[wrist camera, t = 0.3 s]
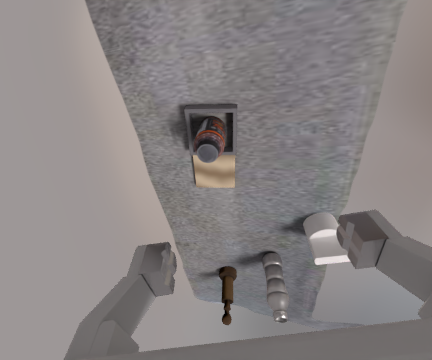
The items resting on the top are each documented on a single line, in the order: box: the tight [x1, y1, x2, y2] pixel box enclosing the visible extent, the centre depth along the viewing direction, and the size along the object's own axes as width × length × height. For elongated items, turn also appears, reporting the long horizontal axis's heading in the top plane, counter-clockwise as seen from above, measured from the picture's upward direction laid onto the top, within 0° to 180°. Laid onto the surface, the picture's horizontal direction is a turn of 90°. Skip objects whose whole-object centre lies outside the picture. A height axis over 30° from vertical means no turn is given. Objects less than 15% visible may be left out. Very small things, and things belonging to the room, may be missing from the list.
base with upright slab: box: [303, 213, 350, 265], centre depth 59 cm, size 9×9×12 cm
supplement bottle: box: [194, 117, 226, 163], centre depth 44 cm, size 6×6×11 cm
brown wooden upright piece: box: [219, 267, 237, 325], centre depth 76 cm, size 7×6×18 cm
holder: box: [184, 104, 237, 155], centre depth 47 cm, size 11×11×2 cm
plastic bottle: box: [262, 253, 289, 323], centre depth 67 cm, size 6×7×20 cm
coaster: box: [193, 155, 235, 188], centre depth 55 cm, size 10×10×1 cm
